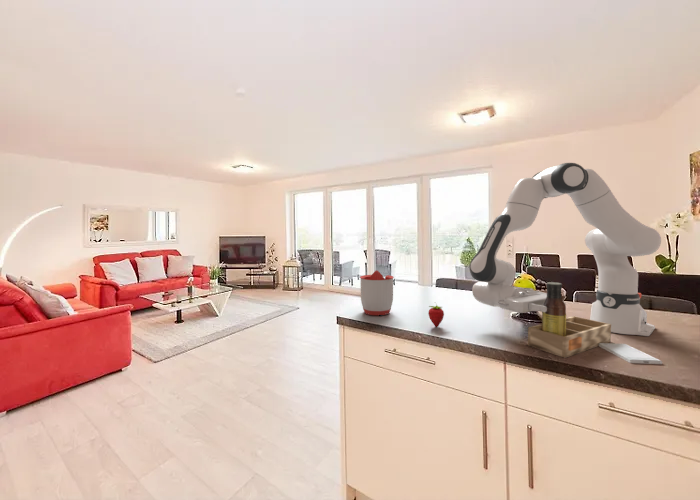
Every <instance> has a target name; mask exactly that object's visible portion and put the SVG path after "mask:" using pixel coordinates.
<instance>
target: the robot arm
mask: <svg viewBox="0 0 700 500" xmlns="http://www.w3.org/2000/svg"><path fill="white" fill-rule="evenodd" d="M564 195H568V196H569V197H570V198H571V200H572V201H573V203H574V206H575V207H576V209H577V210H578V212H579V213H580V215H581V217H582V218H583V219H584V221H585V222H586V223H587V224H589V225H591V226H593V227H594V228H593V229H591V230H590V231H589V232H587V233H586V235H585V238H584V243H585V246H586V247H587V248H588V250H590V252H591V253H592V255H593V257H594V259H595V262H596V266H597V273H598V274H597V275H598V277H597V278H598V280H597V282H598V283H597V284H598V285H597V290H596V292H595V296H596V297H595V299H596V300H595V301H594V302H591V303H592V304H591V309H590V317H589V319H590V320H594V321H599V322H603V323H608V324H611V333H614V334H621V335H633V336H634V335H637V336H642V337H643V336H644V337H650V336H651V335H652V333H653V331H654V330H655V329H656V326H655V325H654V324H651V323H647V321H648V314H647V313H648V312H647V311H646V310H645V309H644V308H643V307H642V305H641V304H640V303H641V298H642V297H643V296H642V295H643V294H642V293H641V292H638V288H639V273H638V272H639V271H638V270H637V269H636V268H634V267H633V266H632V265H631V263H630V261H629V259H628V258H629V257H643V256H650V255H652V254H654V253H656V252H657V251H658V250H659V248H660V246H661V244H662V237H661V235H660V232H659V231H657V229H655V228H653V227H650V226H647V225H645V224H643V223H642V222H640V221H638V220H637V218H635V217H633V215H631V214H630V213H629V212H628V211H626V210H625V209H624V207H623V206H622V205H621V204H620V202H619V201H618V200H617V198H616V197H615V195H614V193H613V192H612V190H611V188H610V186H608V184H607V183H606V182H605V180H604V179H603V178H602V177H601V176H600V174H599V173H597V172H596V171H595V170H594V169H592V168H584V167H583V166H582V165H581V164H579V163H575V162H564V163H561V164H557V165H554V166H551V167H547V168H546V169H544V170H543V171H539V172H537V173H536V174H534V175H533V176H532V177H524V178H520V179H519V180H518V181H517V182H516V183H515V184H514V187H513V188H512V190H511V191H510V194H509V196H508V198H507V200H506V204H505V206H504V208H503V210H502V211H501V213H500V214H499V215H498V216H497V217H495V219H494V221H492V223H491V225H490V227H489V229H488V231H487V233H486V235H485V237H484V239H483V241H482V243H481V245H480V247H479V248H478V250H477V252H476V253H475V254H474V256H473V258H472V259H471V260H470V264H469V272H470V273H469V274H470V276H471V278H473V279H474V280H475V281H477V282H475V283H474V284H473V285H472V289H471V292H472V296H473V297H474V299H475V300H476V301H478V302H479V303H481V304H483V305H487V306H489V307H495V308H501V309H502V310H506V311H509V312H514V313H519V314H523V313H524V314H525V313H528V312H529V313H531V312H541V313H542V312H548V309H549V307H548V306H544V305H543V304H544V302H545V299H546V297H547V292H545V291H544V292H543V291H537V290H534V288H531V287H530V288H529V287H521V286H520V287H518V286H513V285H514V282H515V278H516V272H517V271H516V269H515V267H514V265H513V264H512V263H510V262H508V261H505V260H503V259H500V258H497V254H498V252H499V250H500V248H501V246H502V244H503V241H504V240H505V238H506V237H507V236H508V235H510V234H511V233H513V232H518V231H523V230H526V229H528V228H530V227H531V226H532V225H533V224H534V222H535V221H536V218H537V216H538V213H539V211H540V208H541V204H542V202H543V200H544V199H548V198H556V197H561V196H564ZM565 305H567V304H566V303H565Z"/></svg>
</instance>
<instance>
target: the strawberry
mask: <svg viewBox="0 0 700 500" xmlns="http://www.w3.org/2000/svg"><path fill="white" fill-rule="evenodd" d="M428 307H429V308H430V309H429V310H428V318H429V319H430V322H431V323H432V324H433V325H434V327H436V328H438V327H439V325H440V324H441V323H442V321H443V319H444V316H445V312H444V310H443V309H442V308H443V307H442V306H438V304H437V303H435V305H429V306H428Z"/></svg>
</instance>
